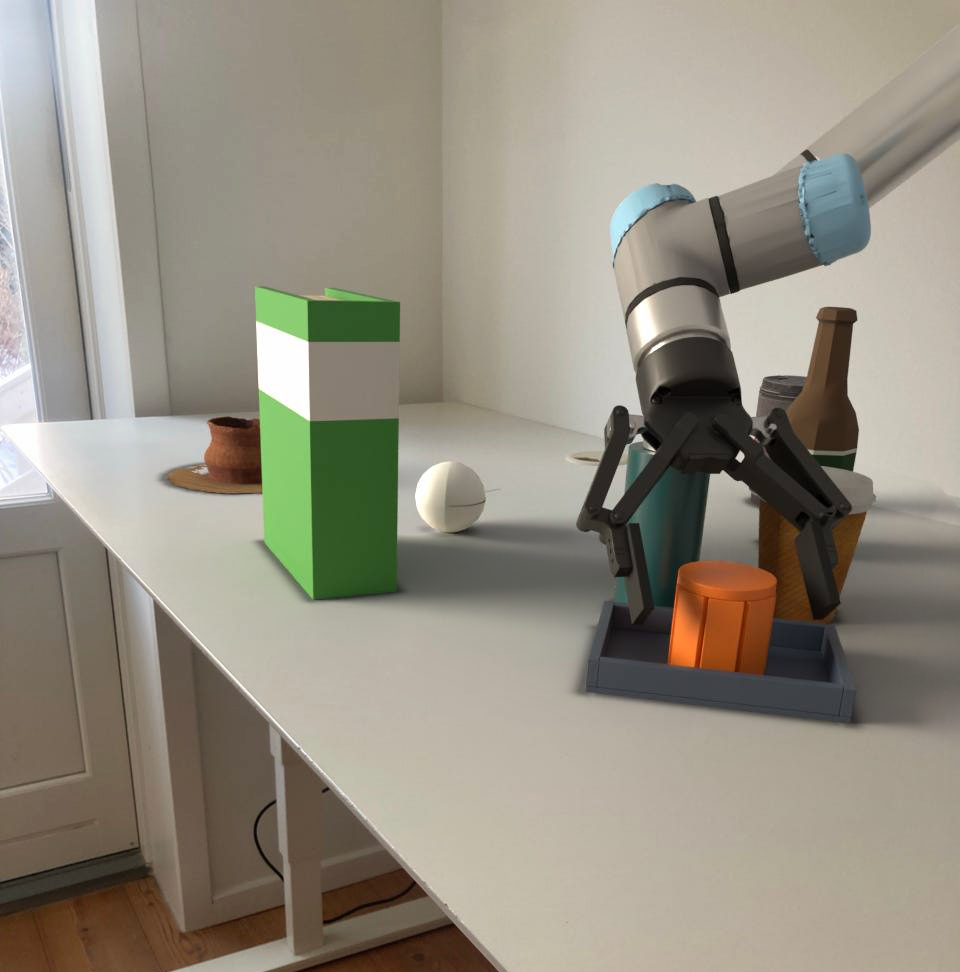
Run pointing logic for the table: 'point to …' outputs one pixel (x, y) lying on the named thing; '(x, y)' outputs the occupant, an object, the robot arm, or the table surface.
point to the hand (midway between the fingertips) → (736, 614)
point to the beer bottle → (828, 394)
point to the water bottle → (666, 524)
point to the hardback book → (330, 437)
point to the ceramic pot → (227, 459)
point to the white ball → (450, 497)
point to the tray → (781, 690)
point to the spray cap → (722, 617)
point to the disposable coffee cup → (782, 555)
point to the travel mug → (776, 401)
